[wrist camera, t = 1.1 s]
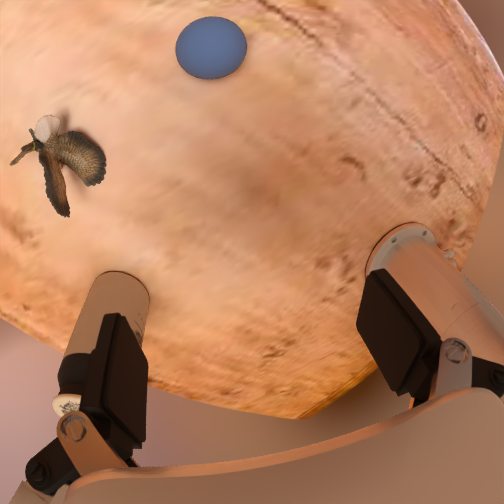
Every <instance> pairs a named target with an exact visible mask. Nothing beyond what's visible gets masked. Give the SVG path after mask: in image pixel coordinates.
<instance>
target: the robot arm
mask: <svg viewBox="0 0 504 504" xmlns="http://www.w3.org/2000/svg"><path fill="white" fill-rule="evenodd" d="M452 257H454V250H453V249H448V250H445V251H442V250H441V249H440V248H439V247H438V246H437V245H436V240H435V236H434V235H433V233H432V232H431V231H430V230H429V229H428V228H427V227H425V226H424V225H422V224H418V223H409V224H404V225H402V226H399V227H397V228H395V229H394V230H392V231H391V232H389V233H388V234H387V235H386V236H385V237H384V238H383V239H382V240H381V241H380V242H379V243H378V244H377V246H376V247H375V249H374V250H373V252H372V254H371V256H370V258H369V261H368V264H367V267H366V281H365V286H364V290H363V295H362V300H361V304H360V308H359V313H358V317H357V321H356V327H357V330H358V332H359V333H360V335H361V337H362V339H363V340H364V342H365V344H366V346H367V347H368V349H369V351H370V353H371V354H372V356H373V358H374V360H375V361H376V363H377V365H378V367H379V368H380V370H381V372H382V374H383V376H384V378H385V379H386V381H387V383H388V385H389V387H390V389H391V390H392V391H395V392H396V393H397V395H398V396H401V395H403V394H405V393H407V392H409V393H410V395H411V401H410V405H409V409H408V410H407V411H405V412H403V413H400V414H398V415H396V416H394V417H391V418H389V419H386V420H384V421H381V422H379V423H377V424H374V425H371V426H368V427H366V428H363V429H361V430H357V431H354V432H352V433H349V434H346V435H343V436H340V437H336V438H333V439H330V440H327V441H323V442H320V443H316V444H313V445H309V446H306V447H301V448H297V449H293V450H289V451H285V452H280V453H275V454H271V455H265V456H260V457H254V458H248V459H242V460H235V461H228V462H220V463H210V464H199V465H186V466H167V467H140V465H139V464H138V463H137V462H136V461H135V460H134V459H133V458H132V455H133V449H142V442H145V440H146V403H147V381H148V362H147V359H146V357H145V355H144V353H143V351H142V349H141V347H140V345H139V343H138V341H137V339H136V337H135V335H134V333H133V331H132V329H131V327H130V325H129V323H128V321H127V319H126V317H125V316H121V314H120V313H119V312H117V313H108V314H105V315H104V316H103V320H102V323H101V327H100V331H99V335H98V339H97V343H96V347H95V349H93V350H92V351H91V354H90V357H89V362H88V366H87V370H86V375H85V380H84V384H83V389H82V395H81V400H80V406H79V411H70V412H68V413H66V414H64V415H63V416H62V417H61V418H60V420H59V422H58V425H57V435H58V437H57V438H56V439H54V440H53V441H52V442H51V443H49V444H48V445H47V446H46V447H45V448H43V449H42V450H41V451H40V452H39V453H37V454H36V455H35V456H34V457H33V458H31V459H30V460H29V462H28V463H27V465H26V470H25V474H26V479H27V480H26V482H25V481H22V482H21V484H20V486H19V487H18V489H17V491H16V492H15V494H14V496H13V497H12V499H11V501H10V503H9V504H504V317H503V316H502V315H501V314H500V312H499V311H498V310H497V309H496V308H495V307H494V306H493V305H492V304H491V303H490V302H489V300H488V299H487V298H486V297H485V296H484V295H483V294H482V293H481V292H480V291H479V290H478V289H477V288H476V287H475V286H474V285H473V284H472V283H471V282H470V281H469V280H468V279H467V278H466V277H465V276H464V275H463V274H462V273H461V272H460V271H459V270H458V269H457V263H456V261H455V260H454V259H450V260H447V259H449V258H452Z"/></svg>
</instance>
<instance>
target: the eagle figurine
mask: <svg viewBox="0 0 504 504" xmlns="http://www.w3.org/2000/svg"><path fill="white" fill-rule="evenodd" d="M59 125H60V119H59V118H57V117H55V116H52V115H47V116H43V117H42V118H41V119H40V120H39V121H38V123H37V125H36V127H35V132H34V131H33V130H32V129H29V132H30V133H31V135H32V137H33V140H34V141H33V142H31V143H29V144H27V145H25V146H23V147H22V148H21V150H22V152H21V153H20V154H19V155H18V156H17V157H16V158H15V159H14V160H13V161H12V162H11V163H10V166H12V165H14V164H16V163H18V161H19V160H20V159H21V158H23V157H24V155H25V154H27V153H29V152H32V151H34V150H35V151H39V162H40V163H41V164H42V166H43V167H44V171H45V173H44V177H45V180H46V183H45V185H46V194H47V197H48V198H50V202H51V203H52V206H53V207H54V208H55V210H56V211H57V213H58V214H60V215H61V216H64V217H66V216H67V217H70V216H69V214H70V211H69V209H70V207H69V204H68V201H67V196H66V185H65V180H64V177H63V174H62V172H61V168H62V164H61V163H63V164H65V165H67V166H68V167H70V168H71V169H72V170H73V171H74V172H75V173H76V174H78V175H79V177H80V178H81V179H82V181H83V182H84V183H85V185H86V186H90V185H93V186H95V185H96V183H97V184H100V183H101V181H103V180H104V175H105V174H106V171H105V169H104V167H106V164H105V161H106V159H105V156H104V155H103V152H102V151H100V149H99V148H98V147H96V146H95V145H94V144H92V143H90V142H89V141H87V139H85V138H84V136H82V134H80V133H78V132H74V131H72V132H68V133H65V134H63V135H59V136H57V133H58V129H59ZM43 143H44V144H43Z"/></svg>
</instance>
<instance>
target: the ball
mask: <svg viewBox="0 0 504 504" xmlns="http://www.w3.org/2000/svg"><path fill="white" fill-rule="evenodd" d="M246 50H247V43H246V38H245V36H244V34H243V32H242V30H241V29H240V28H239V27H238V26H237V25H236V24H235V23H233V22H232V21H230V20H228V19H225V18H221V17H204V18H201V19H198V20H196V21H194V22H192V23H190V24H189V25H188V26H186V27H185V28H184V30H183V31H182V32H181V34H180V35H179V37H178V39H177V42H176V57H177V60H178V62H179V64H180V65H181V67H182V68H183V69H184V70H185V71H186V72H187V73H189V74H190V75H192V76H194V77H197V78H201V79H218V78H222V77H224V76H227V75H229V74H230V73H232V72H233V71H235V70H236V69H237V68H238V67H239V66H240V64H241V63H242V61H243V60H244V57H245V55H246Z"/></svg>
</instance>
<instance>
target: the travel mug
mask: <svg viewBox="0 0 504 504" xmlns="http://www.w3.org/2000/svg"><path fill="white" fill-rule="evenodd" d="M148 308H149V295H148V293H147V291H146V289H145V288H144V286H143V285H142V284H141V283H140V282H139V281H138V280H136V279H135V278H133V277H132V276H130V275H127V274H124V273H120V272H108V273H105V274H102V275H100V276H99V277H98V278H97V279H96V280H95V281H94V283H93V285H92V287H91V289H90V292H89V294H88V296H87V298H86V301H85V303H84V305H83V308H82V310H81V312H80V315H79V317H78V320H77V322H76V325H75V327H74V330H73V332H72V335H71V338H70V340H69V343H68V346H67V349H66V351H65V354H64V357H63V360H62V363H61V366H60V369H59V372H58V382H59V386H60V392H59V394H58V396H56V397H55V398H54V399H53V401H52V405H53V408H54V410H55V411H56V413H57V414H58V415H59V416H60V417H62V416H63V415H64V414H66V413H68V412H70V411H79V406H80V400H81V395H82V389H83V384H84V380H85V375H86V370H87V366H88V362H89V357H90V354H91V351H92V350H93V349H95V347H96V343H97V339H98V335H99V331H100V327H101V323H102V320H103V316H104V315H105V314H108V313H117V312H119V313H120V314H121V316H125V317H126V319H127V321H128V323H129V325H130V327H131V329H132V331H133V333H134V335H135V337H136V339H137V341H138V343H139V345H140V347H141V348H142V342H143V336H144V330H145V324H146V318H147V313H148Z"/></svg>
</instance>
